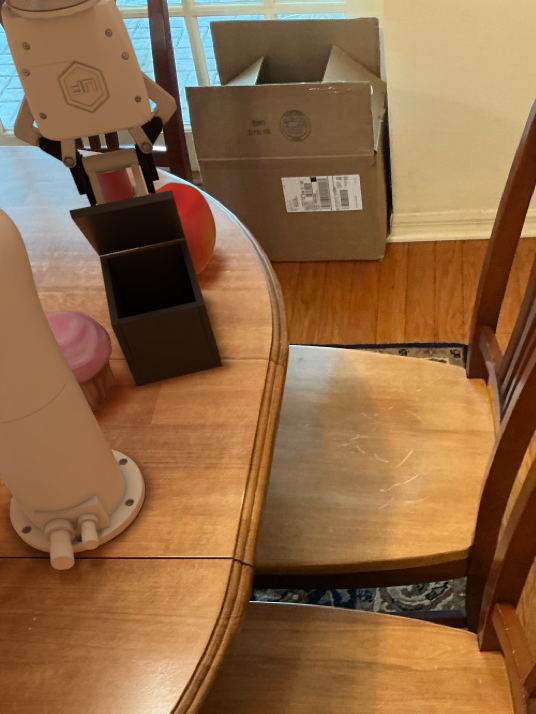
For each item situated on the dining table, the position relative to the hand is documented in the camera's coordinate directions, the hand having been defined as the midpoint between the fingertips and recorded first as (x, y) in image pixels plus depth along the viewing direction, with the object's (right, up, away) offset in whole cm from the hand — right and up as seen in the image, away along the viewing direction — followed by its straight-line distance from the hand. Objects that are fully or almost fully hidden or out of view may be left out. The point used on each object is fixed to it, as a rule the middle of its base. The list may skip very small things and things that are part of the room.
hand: (121, 191), depth 77 cm
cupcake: (-6, -19, +7) cm, 21 cm away
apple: (+1, -1, +20) cm, 20 cm away
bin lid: (+1, -3, +2) cm, 4 cm away
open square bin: (+1, -12, +12) cm, 17 cm away
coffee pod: (-12, +13, +31) cm, 35 cm away
